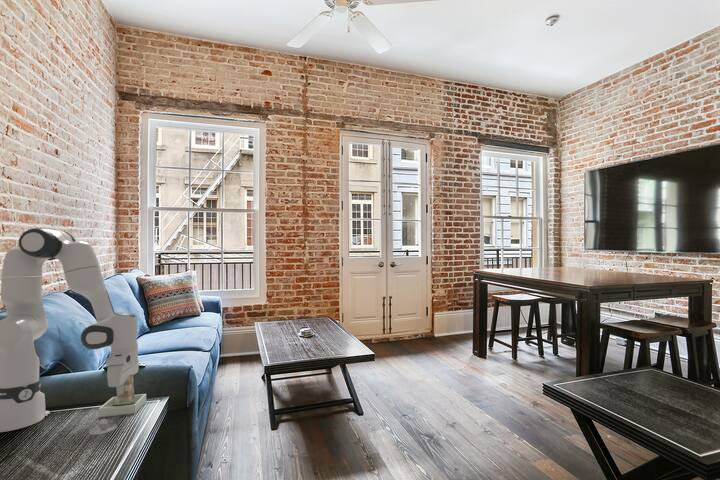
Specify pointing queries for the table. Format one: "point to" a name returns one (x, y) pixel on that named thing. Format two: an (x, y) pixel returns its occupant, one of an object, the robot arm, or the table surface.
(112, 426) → the grey pot lid
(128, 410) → the bin
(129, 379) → the tan rectangular block
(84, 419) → the table surface
